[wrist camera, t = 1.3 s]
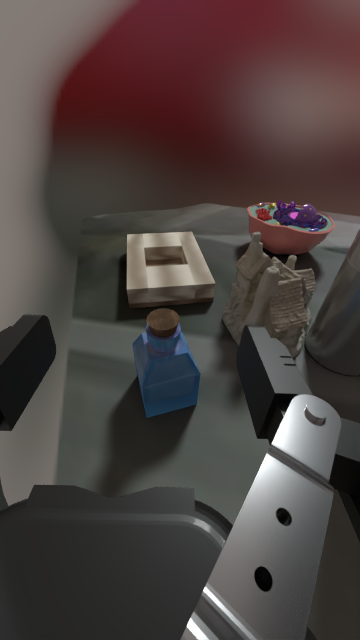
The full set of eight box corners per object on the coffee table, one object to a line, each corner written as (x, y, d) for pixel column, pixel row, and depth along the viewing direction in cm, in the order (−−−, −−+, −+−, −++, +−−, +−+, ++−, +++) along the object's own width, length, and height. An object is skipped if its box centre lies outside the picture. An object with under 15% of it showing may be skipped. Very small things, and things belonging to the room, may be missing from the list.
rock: (240, 366, 35) (274, 268, 26) (213, 299, 48) (229, 217, 38) (341, 361, 37) (405, 269, 28) (289, 298, 50) (322, 220, 40)
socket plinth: (191, 247, 62) (191, 231, 60) (212, 301, 46) (215, 283, 43) (129, 250, 60) (127, 234, 58) (129, 308, 44) (126, 289, 41)
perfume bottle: (196, 404, 31) (204, 334, 23) (146, 418, 29) (136, 348, 21) (181, 365, 35) (184, 295, 27) (137, 375, 34) (126, 304, 26)
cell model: (265, 228, 72) (276, 184, 65) (334, 254, 61) (357, 205, 54) (225, 244, 64) (232, 196, 57) (296, 277, 53) (317, 223, 45)
